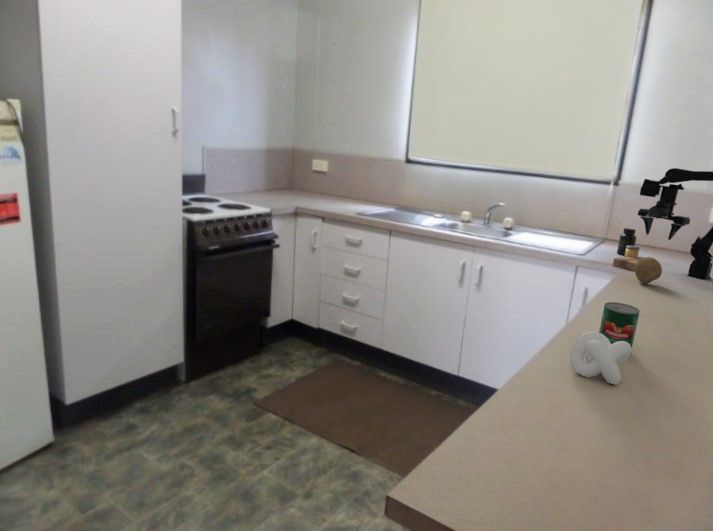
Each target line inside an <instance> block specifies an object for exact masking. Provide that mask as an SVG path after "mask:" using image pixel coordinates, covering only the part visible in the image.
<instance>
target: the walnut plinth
mask: <svg viewBox="0 0 713 531" xmlns="http://www.w3.org/2000/svg"><path fill="white" fill-rule="evenodd" d="M638 260H639V258H637V259H634V258H630V257H624V256H623V257H622V256H621V257H616V258H613V262H612V266H614V267H617V268H621V269H625V270H628V271H632V272H635V264H636V262H637V261H638Z"/></svg>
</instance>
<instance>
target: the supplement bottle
mask: <svg viewBox="0 0 713 531" xmlns="http://www.w3.org/2000/svg"><path fill="white" fill-rule="evenodd" d="M635 234H636V229H634V228H630V227H625V228H623V233H622V234H620V236H619V240H618V245H617V251H616V254H618V255H620V256H623V257H624V256H625V251H626V246H627V245H631V246H636V242H637V236H636V235H635Z"/></svg>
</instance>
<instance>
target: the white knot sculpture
mask: <svg viewBox="0 0 713 531" xmlns="http://www.w3.org/2000/svg"><path fill="white" fill-rule="evenodd" d="M632 350H633V348H632V349H631V346H630V344H629V343H628V342H625V341H618V342H615V343H613V344H612V345H611V343H610V341H609V340H608V338H607V337H606V336H604V335H603V334H601V333H599V331H594V330H593V331H587V332H584V333H583V334H581V335H580V336H578V337H577V338H576V340H575V341H574V342H573V345H572V347H571V349H570V352H569V363H570V366H571V368H572V370H573V371H574V372H575V373H576V374H577V373H578V374H577V375H579V374H581V375H583V376H589V377H588V378H593V377H595V376H598V375H600V374H602V376H603V378H604V380H605V381H606V383H608V384H609V383H611V384H616V385H618V384H619V383H620V382H621V379H622V377H621V373H620V368H619V366H620V365H622V364H623V363H624V362H625V361H627V360H628V358H629V357H630V355H631V354H632ZM583 376H582V377H583ZM611 384H610V385H611Z"/></svg>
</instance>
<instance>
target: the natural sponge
mask: <svg viewBox="0 0 713 531" xmlns="http://www.w3.org/2000/svg"><path fill="white" fill-rule="evenodd" d="M634 272H635V273H634V274H635V276H636V278H637V280H638V281H639V283H641V284H643V285H648V284H650V283H651V282H654V281H655V280H658V279H659V278H660V277H661V276H662V274H663V269H662V265H661V263H660V262H659V261H658V260H657V259H655V258H654V257H651V256H649V257H642V258H639V259H638V261H637V262H636V264H635V271H634Z"/></svg>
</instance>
